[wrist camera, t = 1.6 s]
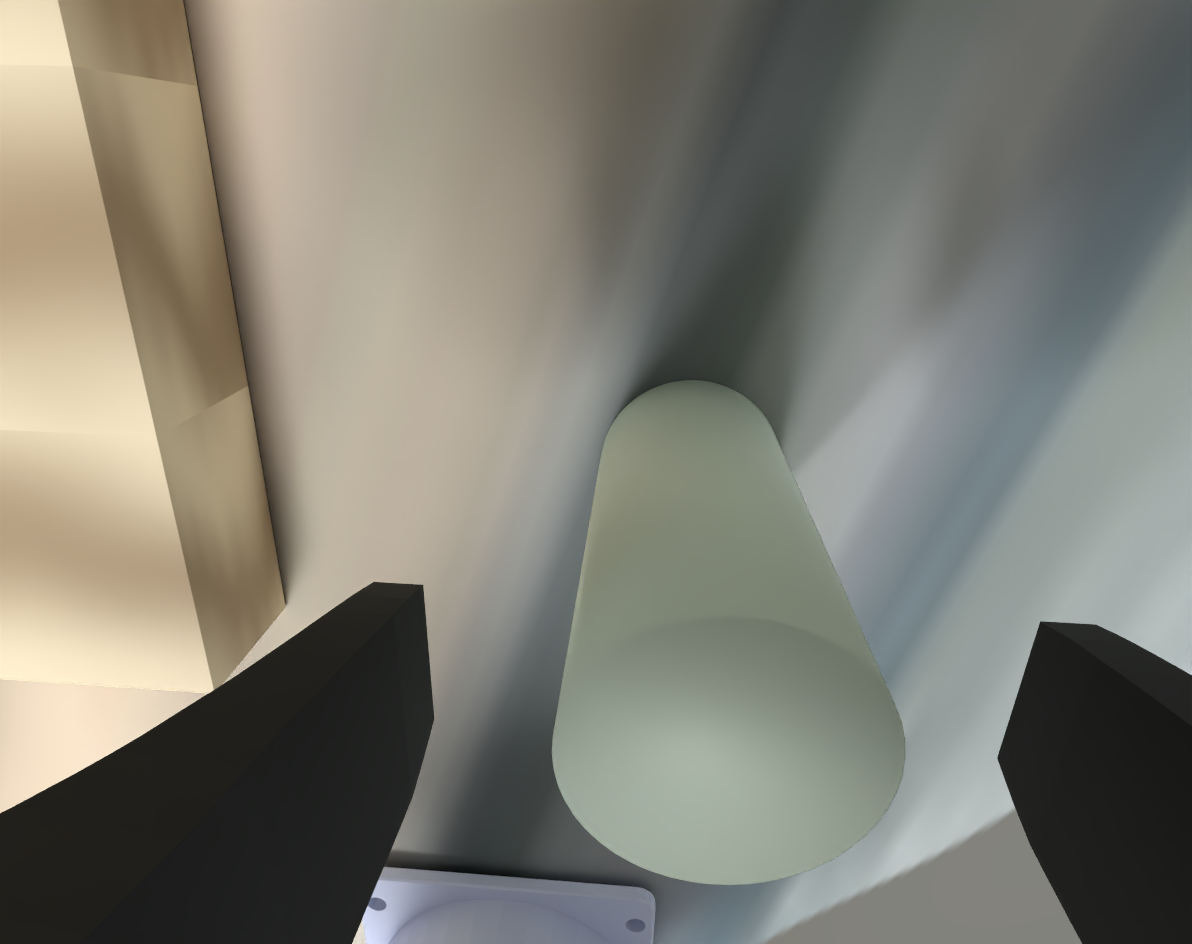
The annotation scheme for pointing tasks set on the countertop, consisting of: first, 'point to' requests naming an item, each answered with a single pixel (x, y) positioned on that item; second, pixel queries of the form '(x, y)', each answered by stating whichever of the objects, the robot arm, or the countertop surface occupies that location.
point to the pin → (716, 658)
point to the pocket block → (120, 365)
